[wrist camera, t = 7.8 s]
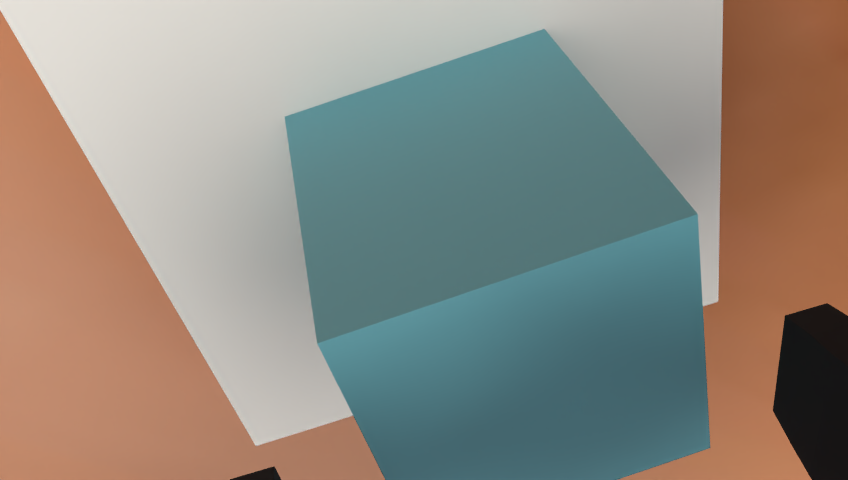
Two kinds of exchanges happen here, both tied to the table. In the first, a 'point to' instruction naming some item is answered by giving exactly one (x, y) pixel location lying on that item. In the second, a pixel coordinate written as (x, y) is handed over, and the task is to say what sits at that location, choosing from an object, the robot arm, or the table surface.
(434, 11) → the cream base plate
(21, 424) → the table surface
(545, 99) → the teal block
